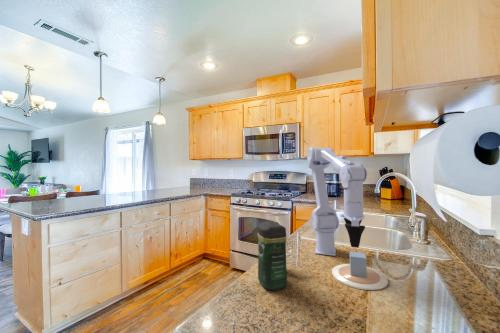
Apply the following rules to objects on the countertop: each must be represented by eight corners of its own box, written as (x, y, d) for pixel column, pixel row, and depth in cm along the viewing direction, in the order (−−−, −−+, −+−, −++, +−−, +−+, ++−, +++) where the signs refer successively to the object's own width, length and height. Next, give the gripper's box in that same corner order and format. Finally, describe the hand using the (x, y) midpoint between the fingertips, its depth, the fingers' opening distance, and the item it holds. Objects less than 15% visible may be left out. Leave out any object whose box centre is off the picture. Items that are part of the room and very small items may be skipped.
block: (349, 269, 75) (349, 251, 75) (364, 271, 74) (364, 253, 74) (350, 275, 71) (350, 256, 71) (366, 277, 70) (366, 258, 70)
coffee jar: (291, 288, 66) (290, 225, 66) (265, 293, 63) (264, 227, 64) (277, 274, 75) (276, 218, 75) (255, 277, 73) (254, 220, 73)
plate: (332, 263, 83) (332, 260, 83) (382, 269, 77) (382, 266, 77) (331, 284, 68) (331, 281, 68) (393, 294, 62) (393, 290, 62)
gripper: (339, 198, 82) (340, 235, 82) (340, 204, 69) (341, 249, 69) (361, 198, 80) (362, 237, 80) (366, 205, 66) (367, 252, 66)
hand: (353, 243), depth 74 cm, fingers open, 7 cm apart
